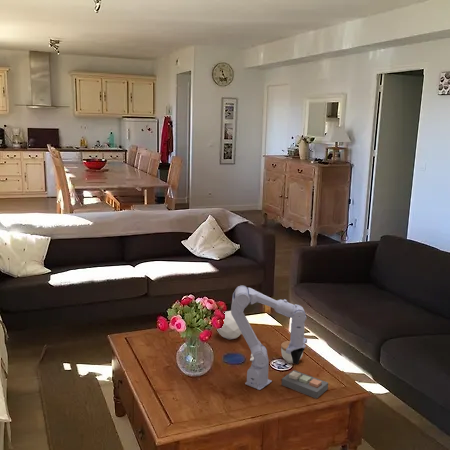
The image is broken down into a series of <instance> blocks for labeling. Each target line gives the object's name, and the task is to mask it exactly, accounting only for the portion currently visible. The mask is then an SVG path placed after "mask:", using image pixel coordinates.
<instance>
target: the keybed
mask: <svg viewBox="0 0 450 450" xmlns="http://www.w3.org/2000/svg"><path fill="white" fill-rule="evenodd" d="M293 371H295V372H297V373H300V374H301V376H302V375H305V376H308V377H311V380H312V379H316V380H319V381H322V384H321V386H320V387H319V388H315V387H312V386H310V385H309V383H308V384H305V383H302V382H299V379H298V380H294V379H291V378H289V374H290V373H292V372H293ZM281 386H282V387H285V388H288V389H290V390H293V391H296V392H298V393H301V394H303V395H306V396H309V397H312V398H313V399H318V398H319V397H321V395H323V394H324V393H325V392H327V391H328V390H329V389H328V388H329V382H327V381H325V380H321V379H319V378H317V377H314V376H312V375H308V374H306V373H303V372H301V371H298V370H296V369H293V370H292V371H290V372H289V373H287V374H286V375H285V376H283V377H282V378H281Z"/></svg>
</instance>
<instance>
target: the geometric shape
mask: <svg viewBox="0 0 450 450" xmlns="http://www.w3.org/2000/svg"><path fill="white" fill-rule="evenodd" d="M224 312H225V313H224ZM224 312H223V313H224V314H225V319H224V324H223V327H222V328H221V329H217V328H216V331H217V332H218V334H219V335H220V336H221V337H223V338H224V339H227V340H234V339H238V337H240V336H241V335H242V333H241V331H240V329H239V327H238V325H237V324H236V322H235V320H234V318H233V316H232V314H231V310H227V311H224Z"/></svg>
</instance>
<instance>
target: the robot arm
mask: <svg viewBox="0 0 450 450" xmlns="http://www.w3.org/2000/svg"><path fill="white" fill-rule="evenodd" d="M257 303H259V304H262V305H265V306H267V307H269V308H272V309H274V312H275V313H277V314H280V315H282V316H283V317H284V316H285V317H286V318H291V323H290V337H289V338H290V340H289V341H290V343H289V345H288V347H287V348H286V353H288V354H291V356H292V360H293V363H292V364H295V365H298V364H300V363H299V362H301V361H300V360H301V359H302V358H301V355H302V353H303V354H304V351H305V350H306V349H305V348H307V345H306V344H308V338H307V337H305V326H306V325H305V321H306V320H307V319H308V318H307V313H306V312H305V309H304V307H303V306H302V305H300V304H296V303H295V304H293V303H291V302H289V301H288V299H285V298H284V299H277V300H276V299H274V298H272V297H270V296H268V295H265V294H263V293H262V292H260V291H257V290H256V289H253V288H252V287H247V286H246V285H239V286H237V287H236V288H235V290H234V292H233V293H232V299H231V307H230V311H231V314H232V316H233V318H234V320H235V322H236V324H237V325H238V327H239V329H240V331H241V333H242V334H241V335H242V337H243V338H244V340H245V341H246V344H247V346H248V348H249V349H250V352H251V353H250V354H252V355H253V357H254V359H253V361H251V365H250V367H249V368H248V369H247V371H246V382H245V383H244V384H245V385H247V386H249V387H250V388H254V389H257V390H258V391H261V390H262V389H264V388H265V387H266V386H268V385H269V384H270V383H272V382H273V381H272V380H271V379H270V378H269V361H270V360H269V356H268V350H267V348H266V346H264V344H262V343H261V341H260V340H259V338H258V337H257V335H256V333H255V332H254V330H253V327H252V325H251V324H250V322H249V320H248V318H247V316H246V314H245V313H244V310H245V308H247V307H248V305H254V304H257ZM302 356H303V355H302ZM300 358H301V359H300Z"/></svg>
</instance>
